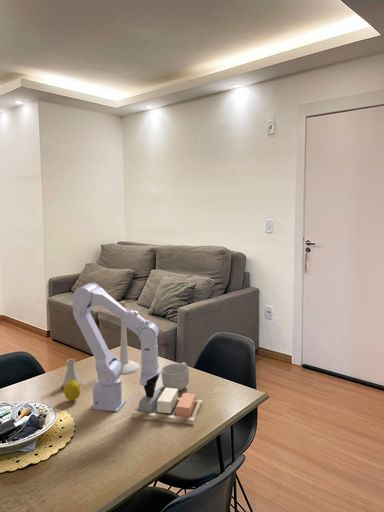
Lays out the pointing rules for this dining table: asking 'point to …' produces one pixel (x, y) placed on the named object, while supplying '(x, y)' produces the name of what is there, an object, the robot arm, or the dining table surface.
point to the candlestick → (126, 351)
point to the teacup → (175, 376)
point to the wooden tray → (168, 417)
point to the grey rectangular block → (149, 402)
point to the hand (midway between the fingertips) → (150, 396)
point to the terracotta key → (186, 405)
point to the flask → (71, 373)
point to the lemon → (72, 390)
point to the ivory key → (167, 400)
